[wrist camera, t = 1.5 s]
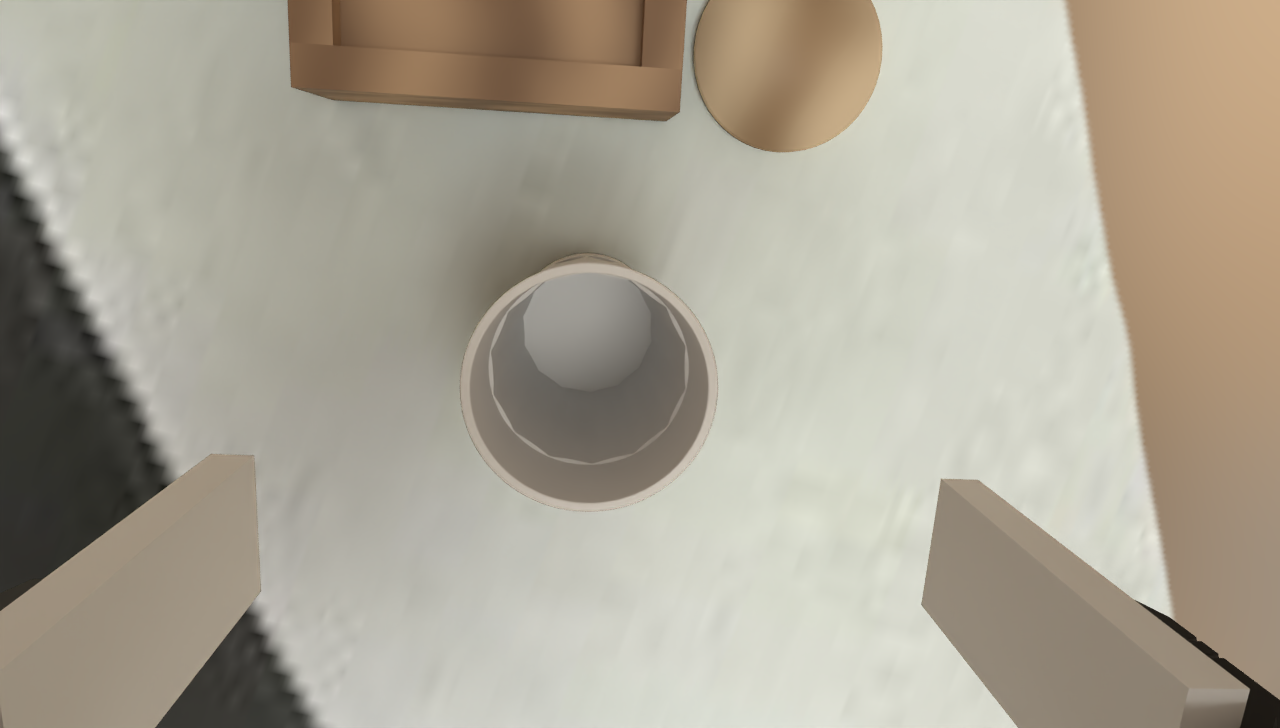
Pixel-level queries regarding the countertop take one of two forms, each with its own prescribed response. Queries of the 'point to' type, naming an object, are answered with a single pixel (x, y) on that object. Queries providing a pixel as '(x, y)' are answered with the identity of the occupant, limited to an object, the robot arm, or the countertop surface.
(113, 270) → the countertop surface
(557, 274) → the cup
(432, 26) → the wooden tray
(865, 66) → the coaster
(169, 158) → the countertop surface
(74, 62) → the countertop surface
